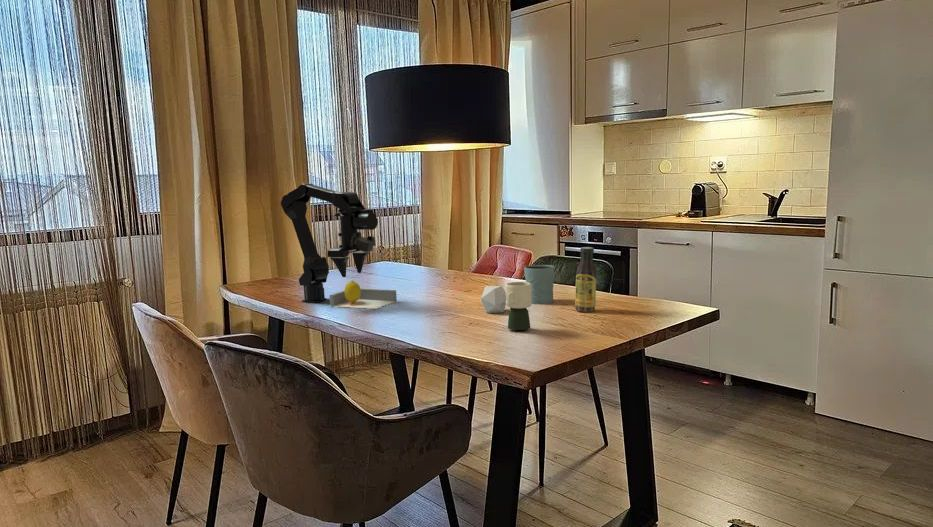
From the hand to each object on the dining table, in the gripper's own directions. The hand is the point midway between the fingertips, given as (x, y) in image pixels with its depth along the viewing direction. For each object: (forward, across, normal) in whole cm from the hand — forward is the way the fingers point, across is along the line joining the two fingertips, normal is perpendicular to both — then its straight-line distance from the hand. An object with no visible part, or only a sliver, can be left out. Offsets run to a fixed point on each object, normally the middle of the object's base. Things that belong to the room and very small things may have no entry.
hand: (352, 275), depth 212 cm
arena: (+10, +2, -3) cm, 11 cm away
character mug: (+11, -17, -66) cm, 69 cm away
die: (+11, +3, -51) cm, 52 cm away
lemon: (+10, 0, 0) cm, 10 cm away
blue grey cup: (+11, +22, -60) cm, 65 cm away
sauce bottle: (+11, +12, -78) cm, 79 cm away
